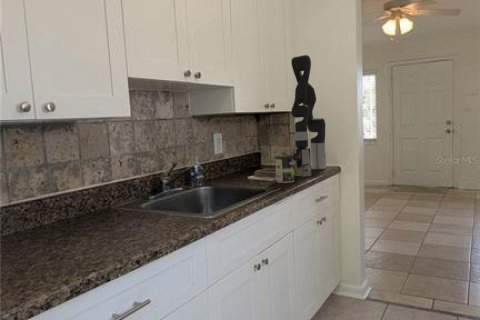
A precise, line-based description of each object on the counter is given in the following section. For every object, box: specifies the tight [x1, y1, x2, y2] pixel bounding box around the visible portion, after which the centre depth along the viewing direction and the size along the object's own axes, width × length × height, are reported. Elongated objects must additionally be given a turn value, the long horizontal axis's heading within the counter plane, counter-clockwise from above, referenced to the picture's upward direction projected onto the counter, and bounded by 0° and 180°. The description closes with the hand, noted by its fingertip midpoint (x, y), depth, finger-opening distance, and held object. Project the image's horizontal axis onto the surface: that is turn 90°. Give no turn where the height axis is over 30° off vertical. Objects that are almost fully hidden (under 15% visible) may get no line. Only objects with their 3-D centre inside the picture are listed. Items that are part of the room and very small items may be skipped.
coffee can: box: [274, 154, 296, 184], centre depth 211 cm, size 10×10×14 cm
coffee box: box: [293, 148, 312, 178], centre depth 229 cm, size 9×6×16 cm
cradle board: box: [247, 168, 276, 182], centre depth 228 cm, size 20×18×4 cm
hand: (302, 166), depth 229 cm, fingers closed on coffee box, 8 cm apart
